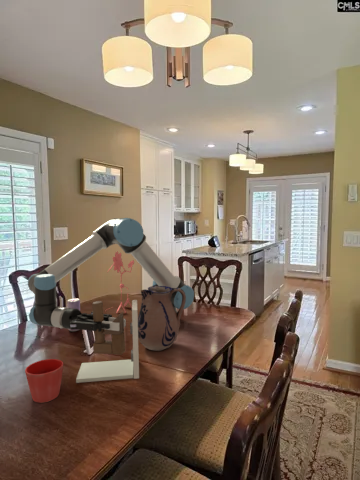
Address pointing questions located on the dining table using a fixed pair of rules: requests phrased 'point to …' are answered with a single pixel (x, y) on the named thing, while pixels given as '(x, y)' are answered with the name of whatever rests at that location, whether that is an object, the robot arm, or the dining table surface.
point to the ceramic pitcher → (159, 317)
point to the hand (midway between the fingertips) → (122, 324)
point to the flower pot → (44, 379)
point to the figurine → (117, 266)
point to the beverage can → (73, 304)
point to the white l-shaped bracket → (114, 368)
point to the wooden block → (117, 336)
